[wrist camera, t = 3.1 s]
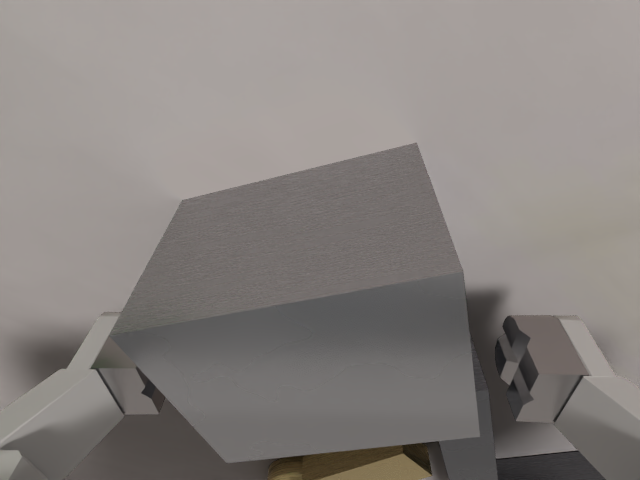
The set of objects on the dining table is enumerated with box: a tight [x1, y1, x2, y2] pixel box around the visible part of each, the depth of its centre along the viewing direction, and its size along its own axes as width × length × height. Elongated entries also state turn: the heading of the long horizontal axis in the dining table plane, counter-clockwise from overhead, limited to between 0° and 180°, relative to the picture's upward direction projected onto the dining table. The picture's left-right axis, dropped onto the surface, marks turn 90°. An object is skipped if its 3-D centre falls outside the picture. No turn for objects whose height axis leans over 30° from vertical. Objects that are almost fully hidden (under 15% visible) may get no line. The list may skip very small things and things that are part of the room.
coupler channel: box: [439, 335, 606, 480], centre depth 14 cm, size 12×12×3 cm
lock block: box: [109, 143, 480, 463], centre depth 10 cm, size 6×5×4 cm
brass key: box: [268, 443, 432, 480], centre depth 19 cm, size 8×3×1 cm, turn 127°
